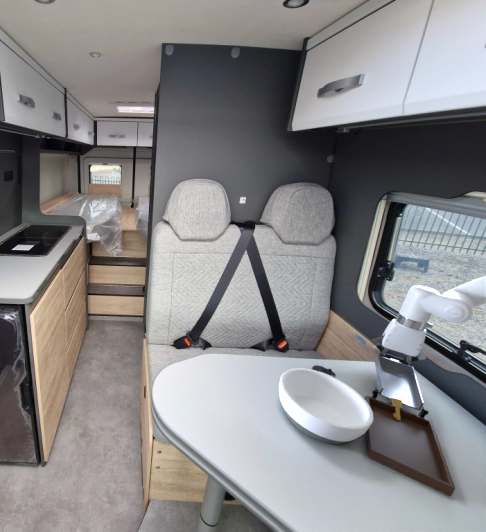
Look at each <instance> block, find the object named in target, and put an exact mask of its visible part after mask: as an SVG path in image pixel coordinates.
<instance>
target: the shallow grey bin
mask: <svg viewBox="0 0 486 532" xmlns="http://www.w3.org/2000/svg"><path fill="white" fill-rule="evenodd" d="M403 362H404V359H403V358H402V357H398V356H395V355H392V354H390V353H388V352H387V353H386V358H385V357H382V356H379V354H377V356H376V358H375V360H374V367H375V376H376V384H377V389H378V391H379V393H378V396H380V397H383V398H385V399H387V400H390V401H391V398H395V399H399V400H402V406H403V405H404V406H406V407H408V408H411V409H414V410H417V411H418V412H420V411H421V409H422V408H423V406H424V405H425V402H424V398H423V395H422V391H421V388H420V385H419V380H418V378H417V374H416V371H415V370H416V369H415V367H414V366H412V365H409V364H408V365H406V364H403Z"/></svg>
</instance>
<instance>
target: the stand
mask: <svg viewBox="0 0 486 532" xmlns="http://www.w3.org/2000/svg"><path fill="white" fill-rule="evenodd" d="M378 393H379V391H378V387H375V388H374V389H372V391H371V396H370V397H372V398H375V399H377V397H378V396H379V394H378ZM429 412H430V411H429V410H428V408H427V407H426V406H424V405H423V406H422V408H421V410H420V411H419V413H418V414H417V415H418V416H421V417H423V418H425V417H426V416H427V415H429Z"/></svg>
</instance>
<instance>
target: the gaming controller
mask: <svg viewBox="0 0 486 532" xmlns="http://www.w3.org/2000/svg"><path fill="white" fill-rule="evenodd" d="M311 370H316V371H319V372H322V373H325V374H328V375H330V376H332V377H334V378H336V376H337V374H336V373H335V372H334V371H333V370H332V368H326V367H324V366H322V365H317V364H316V365H315V364H314V365H313V366H312V367H311Z"/></svg>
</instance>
